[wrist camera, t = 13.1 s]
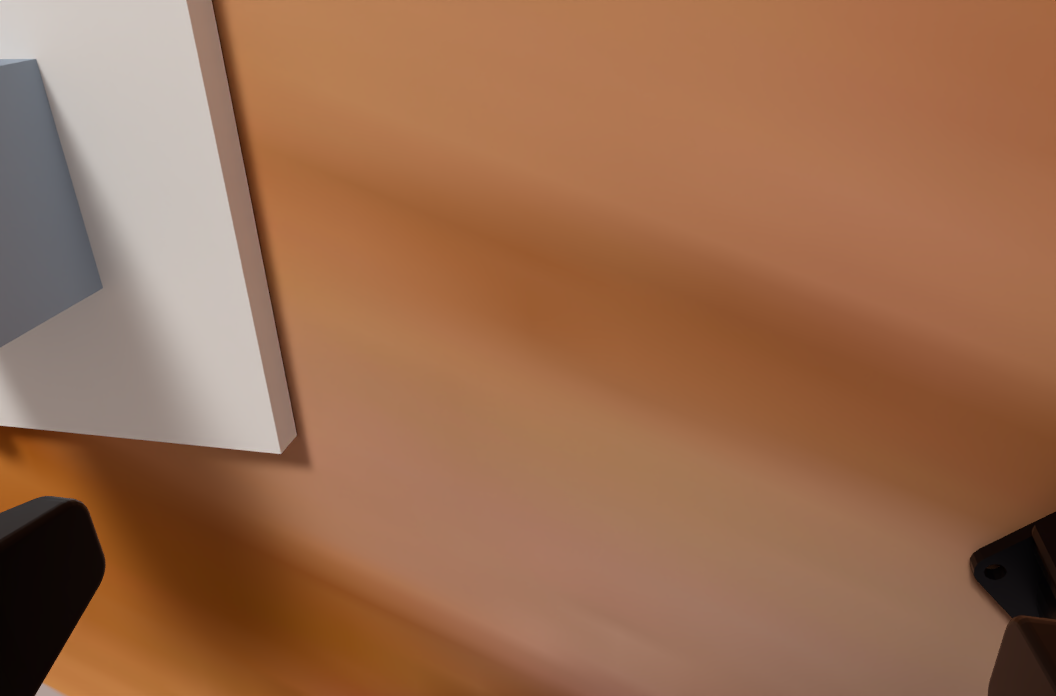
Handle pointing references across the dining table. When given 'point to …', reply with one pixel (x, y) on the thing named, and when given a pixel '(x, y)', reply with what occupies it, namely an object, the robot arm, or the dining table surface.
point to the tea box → (36, 210)
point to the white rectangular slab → (149, 236)
